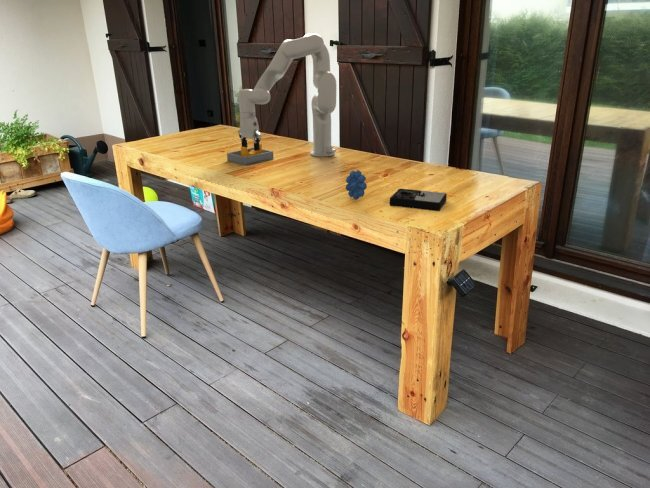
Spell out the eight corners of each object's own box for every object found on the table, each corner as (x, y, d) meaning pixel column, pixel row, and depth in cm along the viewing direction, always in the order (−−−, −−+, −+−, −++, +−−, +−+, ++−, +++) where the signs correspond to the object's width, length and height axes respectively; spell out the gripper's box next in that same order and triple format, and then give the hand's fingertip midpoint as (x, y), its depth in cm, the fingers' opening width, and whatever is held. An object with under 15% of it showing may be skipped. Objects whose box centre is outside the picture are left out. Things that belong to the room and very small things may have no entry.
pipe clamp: (256, 155, 277) (255, 143, 274) (262, 156, 274) (261, 144, 272) (239, 159, 268) (238, 147, 266) (245, 160, 265) (244, 148, 263)
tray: (273, 159, 273) (273, 151, 271) (246, 165, 261) (245, 157, 259) (254, 154, 282) (254, 147, 281) (227, 160, 270) (226, 153, 269)
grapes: (374, 200, 206) (374, 170, 202) (360, 204, 203) (361, 173, 198) (354, 193, 215) (354, 165, 210) (341, 197, 211) (341, 167, 207)
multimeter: (398, 196, 212) (398, 184, 210) (446, 202, 205) (447, 189, 203) (388, 206, 201) (389, 194, 199) (439, 212, 194) (440, 199, 192)
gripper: (265, 115, 260) (267, 150, 266) (242, 112, 271) (245, 145, 278) (253, 117, 255) (256, 152, 261) (231, 114, 266) (234, 148, 273)
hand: (250, 149), depth 269 cm, fingers open, 9 cm apart
